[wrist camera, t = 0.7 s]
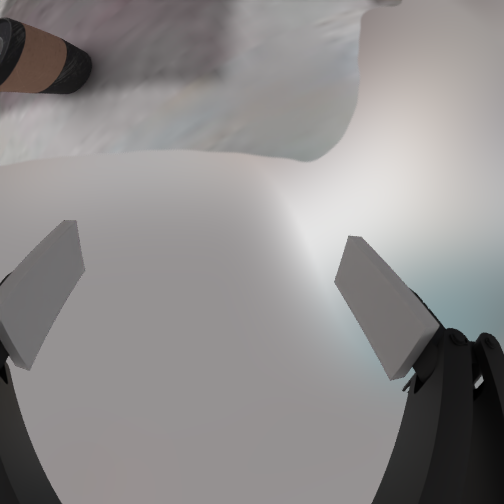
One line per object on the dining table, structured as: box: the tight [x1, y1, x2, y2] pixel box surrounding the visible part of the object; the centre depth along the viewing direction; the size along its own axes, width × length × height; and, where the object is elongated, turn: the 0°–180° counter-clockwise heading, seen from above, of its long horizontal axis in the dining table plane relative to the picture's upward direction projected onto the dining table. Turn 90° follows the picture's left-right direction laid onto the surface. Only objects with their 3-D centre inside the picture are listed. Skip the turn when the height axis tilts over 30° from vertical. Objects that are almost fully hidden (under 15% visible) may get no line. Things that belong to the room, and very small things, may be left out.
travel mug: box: [0, 18, 92, 94], centre depth 17 cm, size 8×8×20 cm
